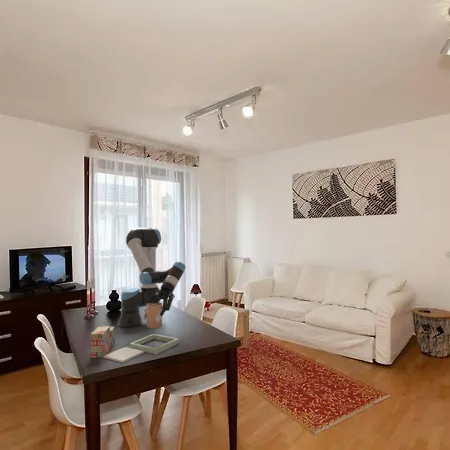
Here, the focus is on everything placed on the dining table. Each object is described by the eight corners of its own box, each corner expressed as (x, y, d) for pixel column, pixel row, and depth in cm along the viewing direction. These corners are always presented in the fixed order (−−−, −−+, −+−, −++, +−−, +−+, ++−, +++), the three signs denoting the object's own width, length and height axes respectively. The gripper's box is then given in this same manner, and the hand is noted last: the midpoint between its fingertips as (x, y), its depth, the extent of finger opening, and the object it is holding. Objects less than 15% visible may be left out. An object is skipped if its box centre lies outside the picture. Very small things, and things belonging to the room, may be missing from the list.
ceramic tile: (104, 357, 162) (104, 355, 162) (125, 348, 175) (125, 346, 175) (122, 362, 156) (122, 360, 156) (143, 353, 168) (143, 351, 168)
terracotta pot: (143, 326, 178) (143, 304, 178) (153, 322, 185) (153, 301, 185) (155, 329, 174) (154, 306, 174) (165, 324, 181) (165, 302, 181)
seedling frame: (129, 348, 176) (129, 343, 176) (153, 338, 191) (153, 333, 192) (155, 354, 166) (155, 349, 166) (178, 343, 182) (178, 338, 182)
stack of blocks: (103, 343, 183) (103, 321, 184) (114, 343, 184) (114, 321, 184) (90, 358, 162) (90, 333, 162) (103, 358, 162) (103, 333, 163)
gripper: (152, 279, 193) (132, 313, 179) (181, 282, 183) (162, 318, 169) (158, 287, 198) (139, 320, 184) (186, 290, 187) (168, 326, 173)
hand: (150, 319), depth 176 cm, fingers closed on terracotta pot, 8 cm apart
